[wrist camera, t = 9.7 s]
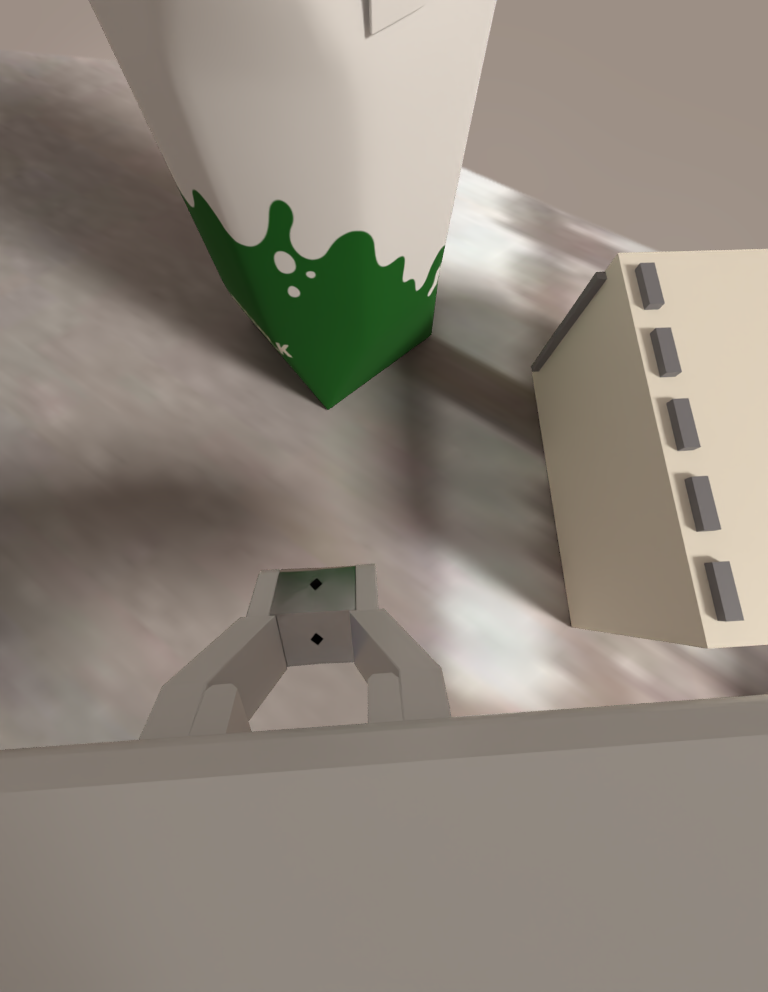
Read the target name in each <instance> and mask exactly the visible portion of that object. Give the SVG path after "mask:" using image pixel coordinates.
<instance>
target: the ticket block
mask: <svg viewBox="0 0 768 992" xmlns="http://www.w3.org/2000/svg"><path fill="white" fill-rule="evenodd" d="M531 368H532V372H533V373H532V377H533V383H534V390H535V396H536V403H537V409H538V415H539V422H540V428H541V435H542V441H543V447H544V454H545V460H546V466H547V473H548V479H549V486H550V492H551V498H552V505H553V511H554V518H555V524H556V530H557V537H558V543H559V549H560V556H561V562H562V569H563V575H564V581H565V588H566V594H567V601H568V607H569V613H570V620H571V626H572V628H578V629H585V630H591V631H598V632H604V633H611V634H617V635H624V636H630V637H636V638H643V639H649V640H656V641H662V642H669V643H675V644H682V645H688V646H695V647H701V648H708V649H709V648H724V647H739V646H754V645H768V249H752V250H751V249H749V250H712V251H677V252H676V251H675V252H638V253H618V254H617V255H616V257H615V258H614V259H613V261H612V262H611V264H610V265H609V266H608V268H607V269H606V271H605V272H596V273H595V275H594V276H593V278H592V279H591V280H590V282H589V283H588V285H587V286H586V288H585V289H584V291H583V292H582V294H581V295H580V296H579V298H578V299H577V301H576V302H575V304H574V305H573V307H572V308H571V309H570V311H569V312H568V314H567V315H566V317H565V318H564V320H563V321H562V323H561V324H560V325H559V327H558V328H557V330H556V331H555V333H554V334H553V336H552V337H551V338H550V340H549V341H548V343H547V344H546V346H545V347H544V349H543V350H542V352H541V353H540V354H539V356H538V357H537V359H536V360H535V362H534V363H533V365H532V366H531Z"/></svg>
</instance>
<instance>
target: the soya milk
mask: <svg viewBox="0 0 768 992" xmlns="http://www.w3.org/2000/svg"><path fill="white" fill-rule="evenodd" d="M496 1H497V0H89V2H90V4H91V6H92V8H93V10H94V12H95V14H96V17H97V19H98V21H99V23H100V25H101V27H102V29H103V31H104V33H105V36H106V38H107V40H108V42H109V44H110V46H111V48H112V50H113V52H114V55H115V57H116V59H117V61H118V63H119V65H120V67H121V69H122V71H123V73H124V76H125V78H126V80H127V82H128V84H129V86H130V88H131V90H132V92H133V94H134V97H135V99H136V101H137V103H138V105H139V107H140V109H141V111H142V113H143V115H144V118H145V120H146V122H147V124H148V126H149V128H150V130H151V132H152V134H153V136H154V138H155V141H156V143H157V145H158V147H159V149H160V151H161V153H162V155H163V157H164V159H165V162H166V164H167V166H168V168H169V170H170V172H171V174H172V176H173V178H174V180H175V183H176V185H177V187H178V189H179V191H180V193H181V195H182V197H183V199H184V201H185V203H186V206H187V208H188V210H189V212H190V214H191V216H192V218H193V220H194V222H195V224H196V227H197V229H198V231H199V233H200V235H201V237H202V239H203V241H204V243H205V245H206V247H207V250H208V252H209V254H210V256H211V258H212V260H213V262H214V264H215V266H216V268H217V270H218V272H219V275H220V277H221V279H222V281H223V283H224V284H225V286H226V288H227V290H228V291H229V293H230V294H231V296H232V297H233V298H234V300H235V301H236V302H237V303H238V305H239V306H240V307H241V308H242V310H243V311H244V312H245V313H246V315H247V316H248V317H249V318H250V319H251V321H252V322H253V323H254V324H255V325H256V327H257V328H258V329H259V330H260V331H261V332H262V334H263V335H264V336H265V337H266V338H267V339H268V341H269V342H270V343H271V344H272V345H273V346H274V348H275V349H276V350H277V351H278V352H279V354H280V355H281V356H282V357H283V358H284V359H285V361H286V362H287V363H288V364H289V365H290V366H291V368H292V369H293V370H294V371H295V372H296V373H297V375H298V376H299V377H300V378H301V379H302V380H303V382H304V383H305V384H306V385H307V386H308V388H309V389H310V390H311V391H312V392H313V393H314V395H315V396H316V397H317V398H318V399H319V400H320V402H321V403H322V404H323V405H324V406H325V407H326V409H327V410H329V409H330V408H332V407H333V406H334V405H336V404H337V403H338V402H340V401H341V400H343V399H344V398H345V397H347V396H348V395H349V394H351V393H352V392H354V391H355V390H356V389H358V388H359V387H360V386H362V385H363V384H365V383H366V382H367V381H369V380H370V379H371V378H373V377H374V376H376V375H377V374H378V373H380V372H381V371H382V370H384V369H385V368H387V367H388V366H389V365H391V364H392V363H393V362H395V361H396V360H398V359H399V358H400V357H402V356H403V355H404V354H406V353H407V352H409V351H410V350H411V349H413V348H414V347H415V346H417V345H418V344H420V343H421V342H422V341H424V340H425V339H426V338H428V337H429V336H430V335H431V333H432V325H433V317H434V309H435V301H436V293H437V285H438V277H439V272H440V268H441V263H442V258H443V253H444V248H445V243H446V238H447V234H448V229H449V224H450V219H451V214H452V210H453V205H454V200H455V195H456V190H457V185H458V181H459V176H460V171H461V166H462V161H463V157H464V152H465V147H466V142H467V138H468V133H469V128H470V123H471V118H472V114H473V109H474V104H475V99H476V94H477V90H478V85H479V80H480V75H481V70H482V65H483V61H484V56H485V52H486V47H487V42H488V37H489V33H490V28H491V23H492V18H493V14H494V9H495V5H496Z"/></svg>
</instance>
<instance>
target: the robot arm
mask: <svg viewBox="0 0 768 992" xmlns="http://www.w3.org/2000/svg"><path fill="white" fill-rule="evenodd" d="M349 662H354V664H355V666H356V667H357V669H358V670H359V672H360V673H361V675H362V676H363V678H364V679H365V681H366V682H367V684H368V723H365V724H351V725H337V726H323V727H310V728H296V729H282V730H268V731H254V732H252V731H251V728H250V725H249V722H248V721H249V720H250V719H251V717H252V716H253V715H254V713H255V712H256V711H257V709H258V708H259V706H260V705H261V704H262V702H263V701H264V700H265V698H266V697H267V696H268V694H269V693H270V692H271V690H272V689H273V687H274V686H275V685H276V683H277V682H278V681H279V679H280V678H281V677H282V675H283V674H284V672H285V671H286V670H287V667H290V666H301V665H311V664H324V663H349ZM0 992H768V694H765V695H751V696H738V697H725V698H711V699H697V700H683V701H669V702H655V703H641V704H627V705H613V706H600V707H586V708H572V709H558V710H544V711H530V712H516V713H502V714H488V715H474V716H460V717H451V712H450V707H449V702H448V697H447V692H446V687H445V683H444V678H443V673H442V668H441V667H440V666H439V665H438V664H437V663H436V662H435V661H434V660H433V659H432V658H431V657H430V656H429V655H428V654H427V653H426V652H425V650H424V649H423V648H422V647H421V646H420V645H419V644H418V643H417V642H416V641H415V640H414V639H413V638H412V637H411V636H410V635H409V634H408V633H407V632H406V631H405V630H404V629H403V628H402V627H401V626H400V625H399V624H398V622H397V621H396V620H395V619H394V618H393V617H392V616H391V615H390V614H389V613H388V612H387V611H386V610H385V609H378V593H377V578H376V566H375V564H363V565H355V566H339V567H324V568H298V569H281V570H262V571H261V572H260V573H259V575H258V578H257V582H256V585H255V588H254V592H253V595H252V598H251V602H250V605H249V609H248V612H247V615H246V617H240V618H239V619H238V620H237V621H236V622H235V623H233V624H232V625H231V626H230V627H229V628H228V629H227V630H225V631H224V632H223V633H222V634H221V635H220V636H219V637H218V638H216V639H215V640H214V641H213V642H212V643H211V644H210V645H208V646H207V647H206V648H205V649H204V650H203V651H202V652H201V653H199V654H198V655H197V656H196V657H195V658H194V659H193V660H192V661H190V662H189V663H188V664H187V665H186V666H185V667H184V668H182V669H181V670H180V671H179V672H178V673H177V674H176V675H175V676H173V677H172V678H171V679H170V680H169V681H168V682H167V683H165V684H164V685H163V686H162V688H161V690H160V693H159V695H158V697H157V699H156V702H155V704H154V706H153V708H152V711H151V713H150V715H149V717H148V720H147V722H146V724H145V727H144V729H143V731H142V733H141V736H140V738H139V740H129V741H115V742H102V743H88V744H74V745H60V746H46V747H33V748H19V749H5V750H0Z"/></svg>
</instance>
